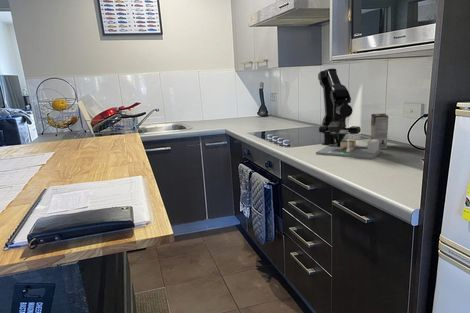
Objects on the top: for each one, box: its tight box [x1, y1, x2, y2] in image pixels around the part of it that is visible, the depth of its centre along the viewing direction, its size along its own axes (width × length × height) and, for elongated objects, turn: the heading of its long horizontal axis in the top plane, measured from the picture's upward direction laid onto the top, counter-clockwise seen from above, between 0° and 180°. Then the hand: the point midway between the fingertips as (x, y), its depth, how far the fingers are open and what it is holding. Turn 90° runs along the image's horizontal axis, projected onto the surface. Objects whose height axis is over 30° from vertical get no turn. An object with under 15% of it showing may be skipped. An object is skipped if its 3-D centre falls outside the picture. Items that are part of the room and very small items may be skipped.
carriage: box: [340, 139, 357, 151], centre depth 157 cm, size 12×5×4 cm, turn 143°
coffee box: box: [370, 112, 389, 150], centre depth 164 cm, size 9×6×16 cm
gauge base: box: [315, 139, 382, 160], centre depth 157 cm, size 15×26×6 cm, turn 53°
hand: (339, 146), depth 162 cm, fingers closed
